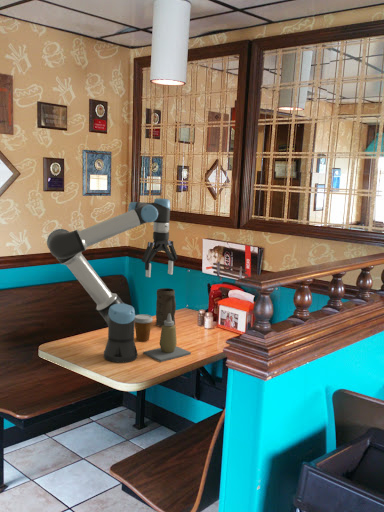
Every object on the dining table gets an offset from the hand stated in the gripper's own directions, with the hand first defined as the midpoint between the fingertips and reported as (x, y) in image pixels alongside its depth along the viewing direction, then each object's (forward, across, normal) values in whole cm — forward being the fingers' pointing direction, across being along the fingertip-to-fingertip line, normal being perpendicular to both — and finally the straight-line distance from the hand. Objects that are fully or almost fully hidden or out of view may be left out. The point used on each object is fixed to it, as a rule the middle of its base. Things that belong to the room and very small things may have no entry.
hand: (159, 275), depth 255 cm
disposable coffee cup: (+35, -1, +10) cm, 36 cm away
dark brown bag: (+35, +25, +22) cm, 48 cm away
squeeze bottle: (+34, -3, -12) cm, 36 cm away
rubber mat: (+35, -4, -13) cm, 37 cm away
